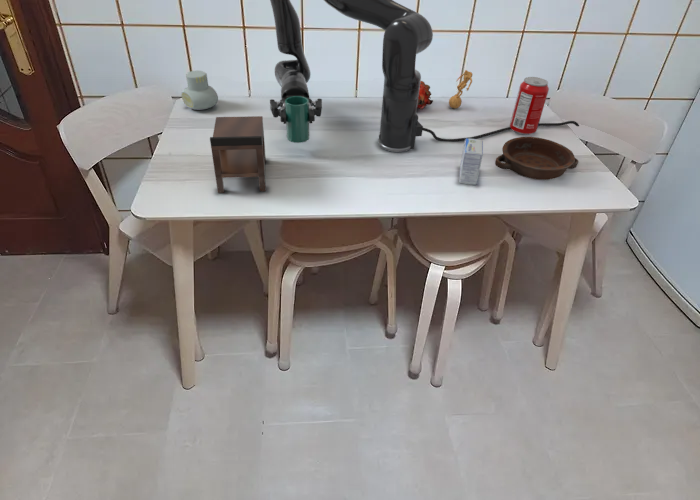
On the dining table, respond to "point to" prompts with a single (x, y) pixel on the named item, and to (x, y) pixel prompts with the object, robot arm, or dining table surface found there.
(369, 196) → the dining table surface
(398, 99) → the robot arm
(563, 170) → the dish
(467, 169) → the medicine box
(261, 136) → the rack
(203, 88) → the air freshener
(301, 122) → the tumbler
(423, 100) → the dragon fruit
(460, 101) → the figurine
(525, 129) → the soda can
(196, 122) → the dining table surface
